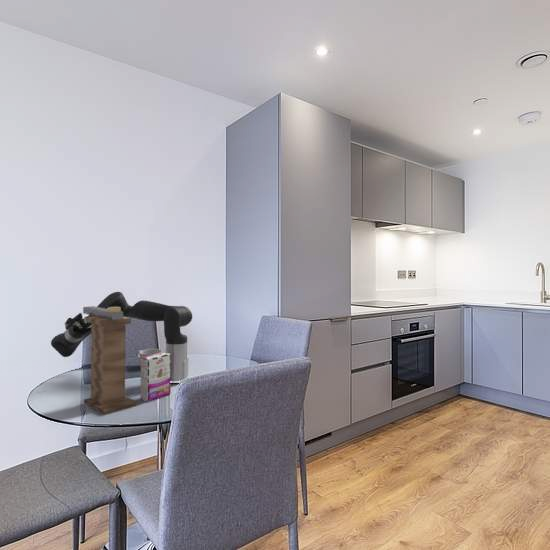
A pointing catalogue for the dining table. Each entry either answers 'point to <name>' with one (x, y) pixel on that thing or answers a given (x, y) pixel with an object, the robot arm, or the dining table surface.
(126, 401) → the stand
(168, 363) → the candy bar box
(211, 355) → the dining table surface
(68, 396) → the dining table surface
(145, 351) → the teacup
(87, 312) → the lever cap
